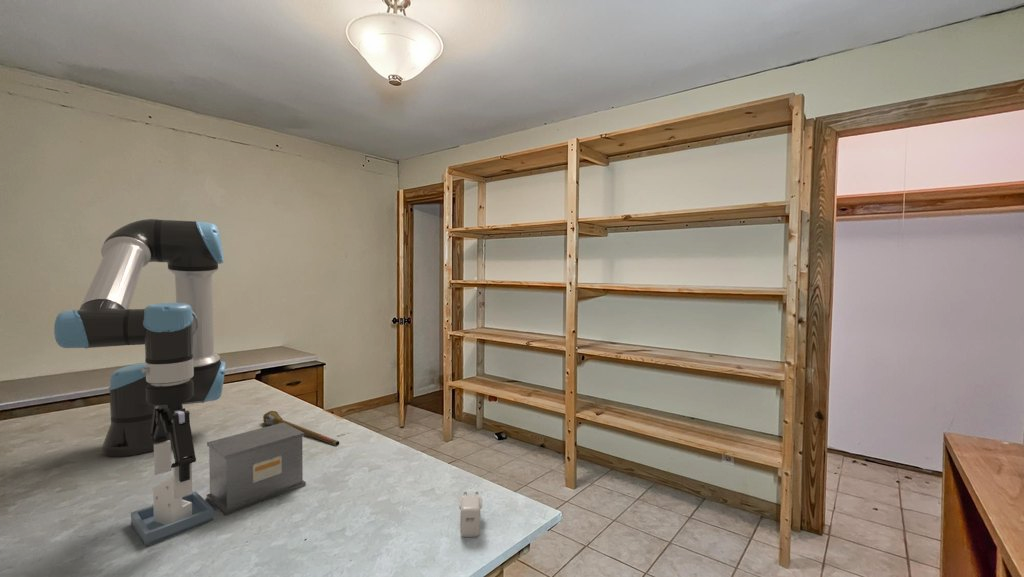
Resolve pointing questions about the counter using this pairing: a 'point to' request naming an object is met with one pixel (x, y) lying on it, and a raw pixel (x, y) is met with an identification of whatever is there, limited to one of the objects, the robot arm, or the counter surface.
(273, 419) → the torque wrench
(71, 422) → the counter surface
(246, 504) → the box
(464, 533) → the power adapter
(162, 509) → the white wedge bracket
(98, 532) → the counter surface
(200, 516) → the tray
